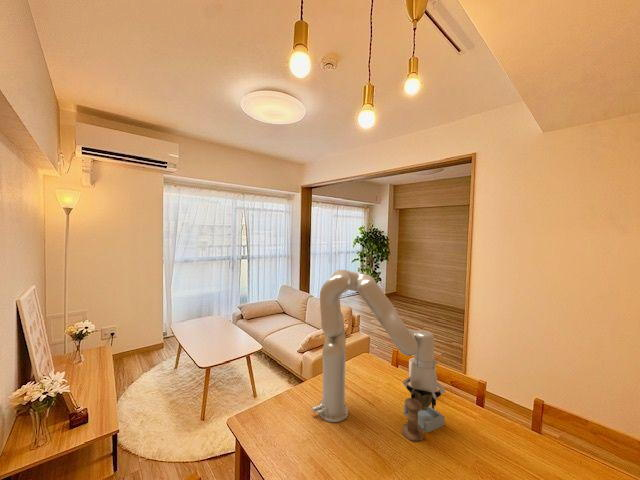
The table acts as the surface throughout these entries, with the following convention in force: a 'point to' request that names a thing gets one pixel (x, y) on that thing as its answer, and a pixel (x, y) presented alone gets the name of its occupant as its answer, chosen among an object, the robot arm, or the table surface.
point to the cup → (424, 398)
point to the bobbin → (412, 421)
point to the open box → (428, 419)
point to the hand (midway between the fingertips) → (423, 404)
